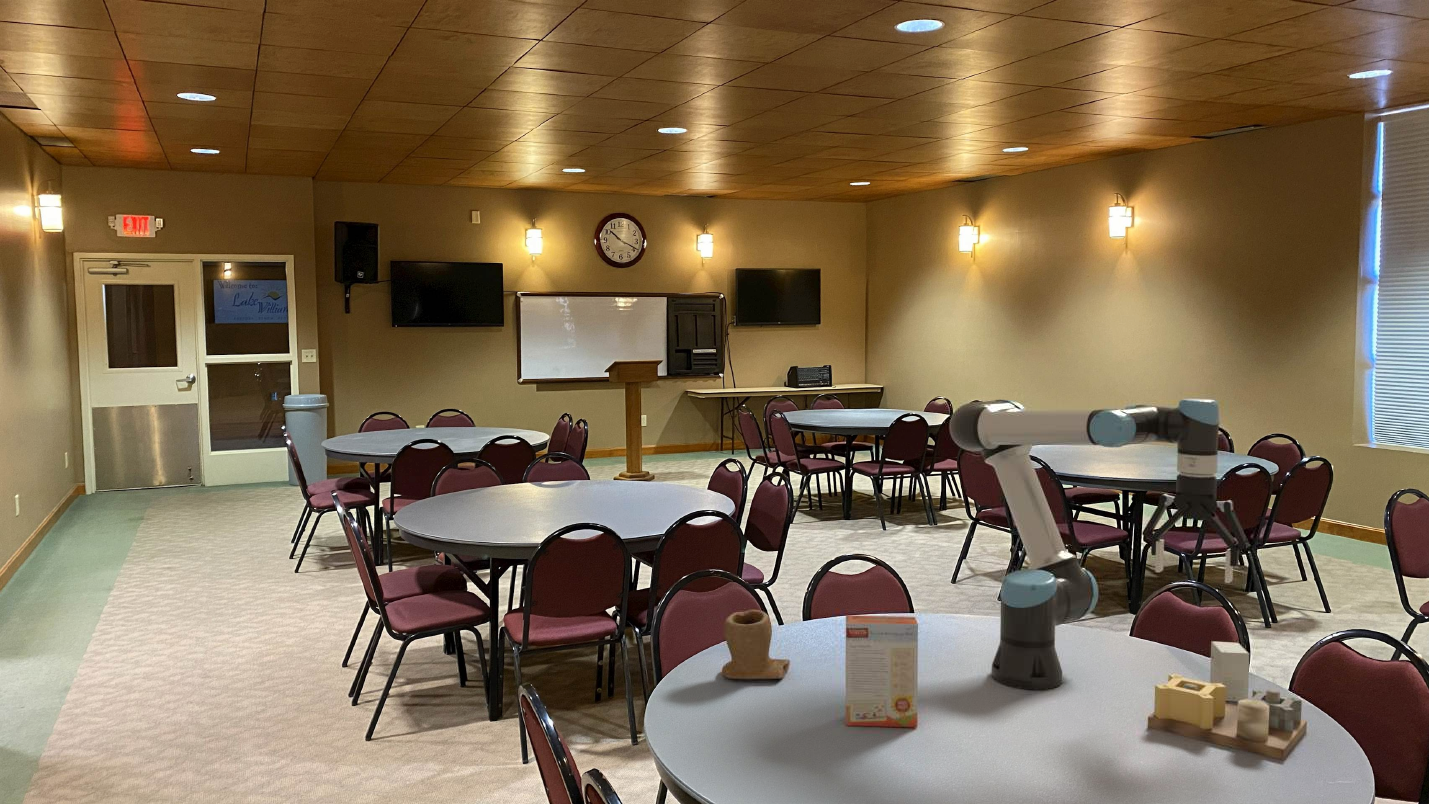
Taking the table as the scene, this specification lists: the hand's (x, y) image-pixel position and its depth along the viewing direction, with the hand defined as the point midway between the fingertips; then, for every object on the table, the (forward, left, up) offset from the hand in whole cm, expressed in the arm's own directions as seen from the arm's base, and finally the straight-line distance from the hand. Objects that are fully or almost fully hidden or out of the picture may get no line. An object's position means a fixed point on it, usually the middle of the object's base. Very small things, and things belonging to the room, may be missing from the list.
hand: (1193, 576), depth 217 cm
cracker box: (-43, -51, -27) cm, 72 cm away
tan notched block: (+4, -13, -25) cm, 28 cm away
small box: (+5, +10, -27) cm, 29 cm away
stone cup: (-78, -47, -27) cm, 95 cm away
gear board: (+10, -10, -27) cm, 30 cm away
